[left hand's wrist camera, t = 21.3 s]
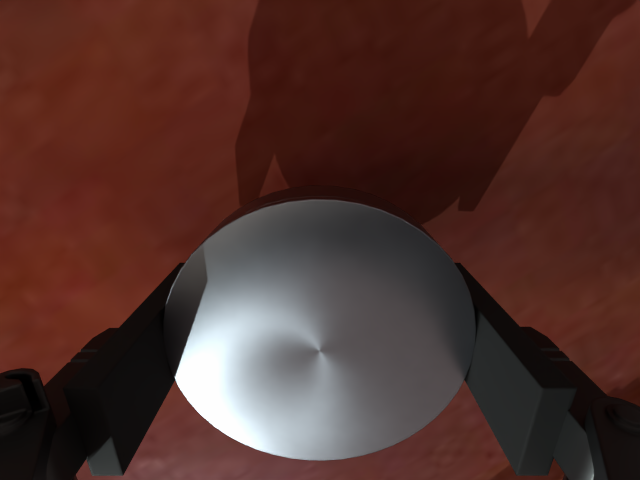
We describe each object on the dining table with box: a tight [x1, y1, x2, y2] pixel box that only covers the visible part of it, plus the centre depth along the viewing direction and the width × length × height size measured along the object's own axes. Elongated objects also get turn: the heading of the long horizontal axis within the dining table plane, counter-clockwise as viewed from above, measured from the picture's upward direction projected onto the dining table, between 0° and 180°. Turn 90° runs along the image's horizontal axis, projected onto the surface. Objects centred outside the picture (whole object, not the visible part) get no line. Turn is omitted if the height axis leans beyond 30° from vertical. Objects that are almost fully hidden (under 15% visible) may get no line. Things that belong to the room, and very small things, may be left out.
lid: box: [163, 185, 476, 460], centre depth 11 cm, size 10×10×2 cm
